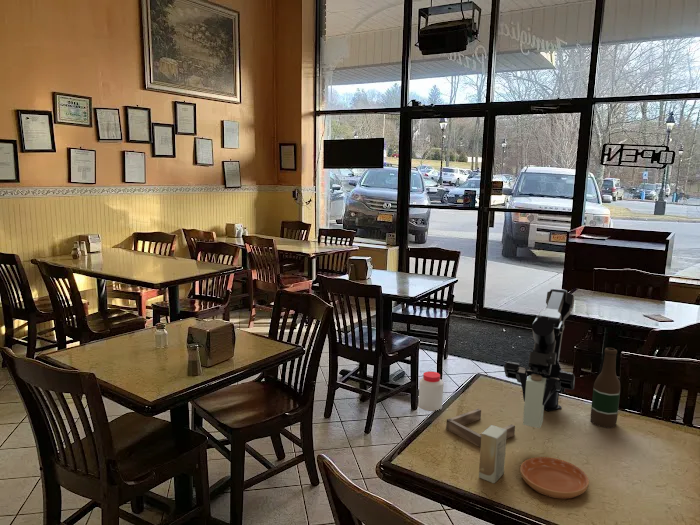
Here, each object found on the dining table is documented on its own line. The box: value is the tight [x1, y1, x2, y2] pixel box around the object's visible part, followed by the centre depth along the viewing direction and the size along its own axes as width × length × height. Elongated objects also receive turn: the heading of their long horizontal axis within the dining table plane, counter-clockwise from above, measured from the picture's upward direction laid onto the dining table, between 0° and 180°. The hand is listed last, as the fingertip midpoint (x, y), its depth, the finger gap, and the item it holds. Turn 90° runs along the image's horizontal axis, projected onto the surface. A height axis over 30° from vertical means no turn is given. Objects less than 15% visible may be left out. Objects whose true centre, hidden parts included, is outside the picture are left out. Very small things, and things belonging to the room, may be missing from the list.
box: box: [445, 408, 516, 449], centre depth 159 cm, size 14×14×3 cm
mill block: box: [522, 374, 546, 429], centre depth 149 cm, size 5×5×14 cm
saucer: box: [519, 456, 590, 500], centre depth 133 cm, size 16×16×3 cm
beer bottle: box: [590, 347, 621, 429], centre depth 166 cm, size 8×8×24 cm
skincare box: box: [478, 424, 507, 484], centre depth 135 cm, size 6×4×12 cm
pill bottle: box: [418, 371, 444, 412], centre depth 176 cm, size 8×8×11 cm
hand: (533, 402), depth 148 cm, fingers closed on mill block, 5 cm apart
